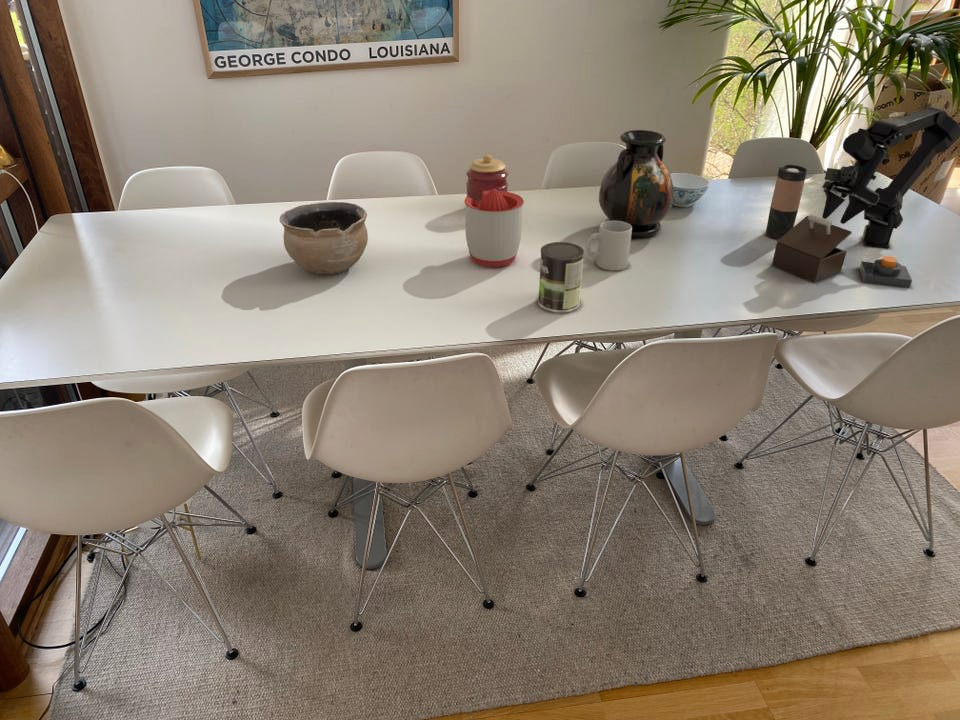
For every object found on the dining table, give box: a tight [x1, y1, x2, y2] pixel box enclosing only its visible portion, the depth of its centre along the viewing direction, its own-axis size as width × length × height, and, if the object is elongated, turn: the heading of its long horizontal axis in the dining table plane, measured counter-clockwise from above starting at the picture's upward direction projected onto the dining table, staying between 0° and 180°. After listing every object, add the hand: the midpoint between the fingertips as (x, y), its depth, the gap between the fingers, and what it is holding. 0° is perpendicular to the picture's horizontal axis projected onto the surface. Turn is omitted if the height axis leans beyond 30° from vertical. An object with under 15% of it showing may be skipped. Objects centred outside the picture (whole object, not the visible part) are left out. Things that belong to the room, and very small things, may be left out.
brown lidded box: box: [771, 242, 848, 284], centre depth 206 cm, size 11×13×6 cm
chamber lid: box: [776, 213, 852, 260], centre depth 201 cm, size 12×13×5 cm
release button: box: [880, 255, 898, 268], centre depth 201 cm, size 4×4×2 cm
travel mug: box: [765, 164, 808, 240], centre depth 223 cm, size 8×8×20 cm
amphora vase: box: [598, 129, 674, 239], centre depth 223 cm, size 22×22×28 cm
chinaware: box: [670, 172, 710, 208], centre depth 248 cm, size 15×15×8 cm
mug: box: [586, 220, 632, 272], centre depth 206 cm, size 12×8×11 cm
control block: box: [859, 258, 913, 289], centre depth 202 cm, size 11×9×4 cm
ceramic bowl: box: [278, 201, 369, 275], centre depth 202 cm, size 22×22×15 cm
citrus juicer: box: [463, 189, 525, 269], centre depth 206 cm, size 16×17×20 cm
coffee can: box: [537, 241, 585, 314], centre depth 185 cm, size 10×10×14 cm
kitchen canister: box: [465, 153, 509, 203], centre depth 239 cm, size 13×13×18 cm
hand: (832, 220), depth 208 cm, fingers open, 9 cm apart
